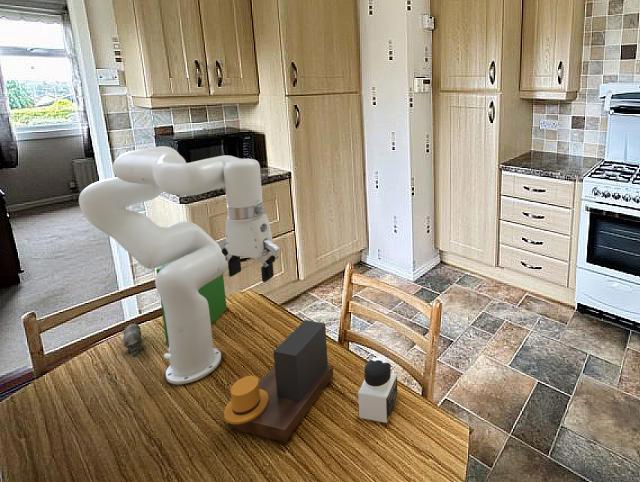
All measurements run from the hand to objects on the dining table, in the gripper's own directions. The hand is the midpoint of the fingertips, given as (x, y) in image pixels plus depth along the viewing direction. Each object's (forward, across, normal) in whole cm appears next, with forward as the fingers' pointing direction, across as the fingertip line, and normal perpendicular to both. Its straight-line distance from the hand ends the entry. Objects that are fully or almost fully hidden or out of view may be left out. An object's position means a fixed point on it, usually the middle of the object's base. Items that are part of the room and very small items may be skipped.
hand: (251, 276), depth 92 cm
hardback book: (+31, +37, -15) cm, 50 cm away
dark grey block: (+26, -13, 0) cm, 29 cm away
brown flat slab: (+30, -10, +4) cm, 32 cm away
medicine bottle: (+30, -33, -1) cm, 45 cm away
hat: (+26, -6, +10) cm, 28 cm away
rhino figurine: (+31, +45, -1) cm, 54 cm away
